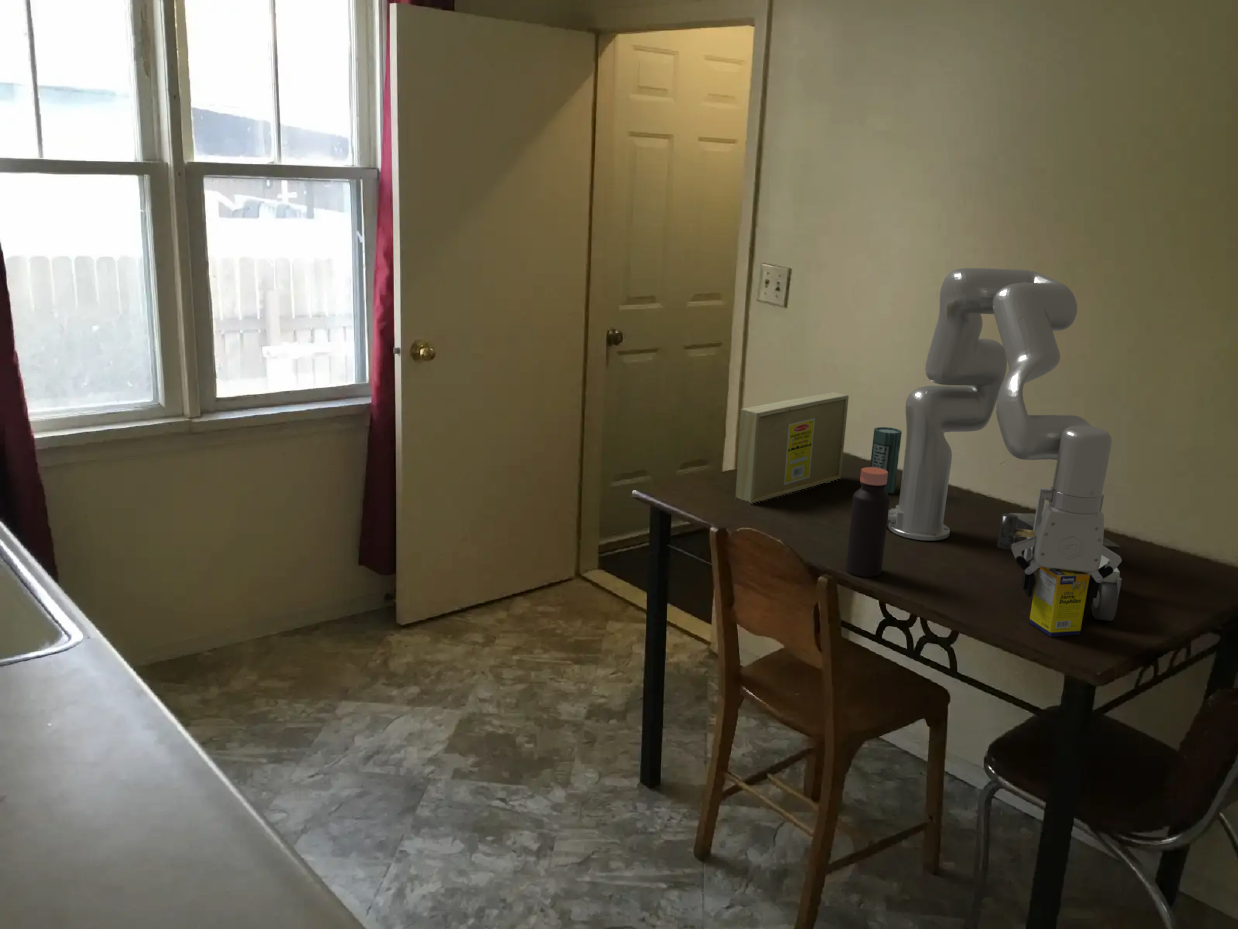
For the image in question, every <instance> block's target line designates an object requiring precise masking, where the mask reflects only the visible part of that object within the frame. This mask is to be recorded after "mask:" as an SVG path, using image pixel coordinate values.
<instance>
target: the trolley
mask: <svg viewBox="0 0 1238 929" xmlns="http://www.w3.org/2000/svg"><path fill="white" fill-rule="evenodd" d="M1050 490H1051V488H1048V487H1047V488H1045V487H1039V492H1038V498H1037V503H1036V509H1035V510H1036V511H1035V514H1036V516H1035V522H1034V528H1033V530H1037V526H1038V523H1039V520H1040V517H1041V514H1042V511H1043V509H1044V507H1045V504H1046V503H1045V501H1046V499H1042V498H1041V495H1042V491H1045V492H1047V491H1050ZM1104 497H1105V495H1104V494H1103V493H1102V497H1101V502H1100V507H1099V511H1101V512H1102V507H1103V504H1104ZM1029 538H1030V537H1027V539H1029ZM1032 556H1033V555H1032V547H1031V548H1028V549H1025V550H1024V553H1023V557H1024V558H1025V560H1026V561H1027V560H1028V559H1029V558H1030V557H1032ZM1108 561H1109V559H1107V558H1106V557H1104V556H1103V555H1101V562H1100V566H1099V568H1101V567H1102V566H1104V565H1105V564H1107V563H1108ZM1033 573H1034V575H1035V579H1034V582H1036V575H1037V569H1036V570H1035V571H1034V572H1033ZM1086 573H1087V572H1086ZM1120 573H1121V572H1120V570H1119V568H1118V567H1117V568H1116V569H1114V571H1113V573H1112V574H1110V575H1109V576H1107V577H1106V578H1104V579H1103V581H1102V582H1100V583H1099V588H1098V593H1097V597H1096V598H1093V602H1092V604H1091V614H1092V616H1093V618H1094V620H1101V621H1109V622H1110V621H1111V622H1112V621H1113V620H1114V618H1115V616H1116V613H1117V608H1118V602H1119V596H1120V595H1119V594H1120V590H1121V587H1122V586H1121V585H1122V580H1123V579H1122V577H1121V575H1120ZM1088 574H1090V573H1088Z"/></svg>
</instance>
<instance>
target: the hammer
mask: <svg viewBox="0 0 1238 929" xmlns="http://www.w3.org/2000/svg"><path fill="white" fill-rule="evenodd" d="M1000 518H1001V519H1000V525H999V526H1000V527H999V532H998V539H997V547H998V548H999V549H1004V550H1012V549H1011V544H1013V543H1015V541H1016V540H1015V536H1020V537H1030V538H1032V537H1035V533H1036V530H1027V529H1017V528H1016V527H1017V521H1018V516H1016V515H1014V514H1009V513H1002V514H1001V517H1000Z"/></svg>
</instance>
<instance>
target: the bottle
mask: <svg viewBox="0 0 1238 929" xmlns="http://www.w3.org/2000/svg"><path fill="white" fill-rule="evenodd" d="M859 476H860V477H859V478H860V479H859V484H860V485H861V486H860V487H859V489H858V490H856V491H855V492H853V496H852V505H851V514H850V522H849V523H850V524H849V531H848V532H849V533H848V542H847V552H846V559H845V570H846V571H847V572H848V573H849V574H850V575H854V576H856V575H857V577H861V576H863V577H862V578H874V576H875V577H878V576H880V575H881V573H882V571H883V570H882V569H883V564H884V563H883V561H884V554H885V545H886V537H887V528H888V522H889V520H888V513H889V510H890V503H891V498H890V496H889V494H887V493H886V492H885V491H884V488H885V487H886V484H887V478H888V471H886V470H884V469H881V468H875V467H870V466H868V467H863V468H861V469H860V475H859ZM877 575H878V576H877Z"/></svg>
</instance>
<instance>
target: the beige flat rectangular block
mask: <svg viewBox="0 0 1238 929" xmlns="http://www.w3.org/2000/svg"><path fill="white" fill-rule="evenodd" d="M849 397H850V396H849V395H848V394H845V393H841V392H835V391H832V392H826V393H821V394H815V395H809V396H802V397H798V398H792V399H785V400H781V401H776V402H770V403H766V404H760V405H756V406H749V407H744V408H741V409H740V421H739V422H740V423H739V434H738V435H739V437H738V439H739V440H738V452H737V453H738V454H737V469H736V484H735V486H736V487H735V498H736V497H737V498H739V499H741V500H745V501H748V502H750V503H752V502H755V501H758V500H764V499H766V498H769V497H772V496H777V495H781V494H783V493H789V492H792V491H795V490H801V489H804V488H807V487H811V486H816V485H819V484H822V483H826V484H829V483H832V482H831V481H833V482H835V481H834V480H836V481H838V480H837V479H840V480H841V478H842V468H843V460H844V458H843V457H844V450H845V448H844V447H845V437H846V428H847V419H848V418H847V417H848V409H849V408H848V406H849ZM819 486H820V485H819ZM816 487H817V486H816Z"/></svg>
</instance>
